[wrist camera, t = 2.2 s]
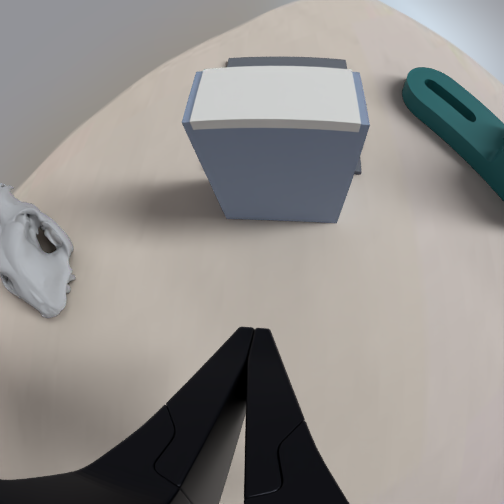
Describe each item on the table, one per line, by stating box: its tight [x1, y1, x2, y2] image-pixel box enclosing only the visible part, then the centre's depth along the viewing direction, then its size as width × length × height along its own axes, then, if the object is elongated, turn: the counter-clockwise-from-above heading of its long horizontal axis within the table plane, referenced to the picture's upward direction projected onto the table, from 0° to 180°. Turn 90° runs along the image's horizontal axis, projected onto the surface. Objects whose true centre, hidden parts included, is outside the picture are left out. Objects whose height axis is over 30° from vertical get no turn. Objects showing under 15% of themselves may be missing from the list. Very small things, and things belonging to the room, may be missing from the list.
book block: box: [182, 66, 370, 223], centre depth 18 cm, size 4×8×11 cm, turn 86°
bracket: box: [402, 67, 504, 201], centre depth 19 cm, size 18×7×8 cm, turn 41°
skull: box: [0, 183, 76, 318], centre depth 21 cm, size 8×9×12 cm
